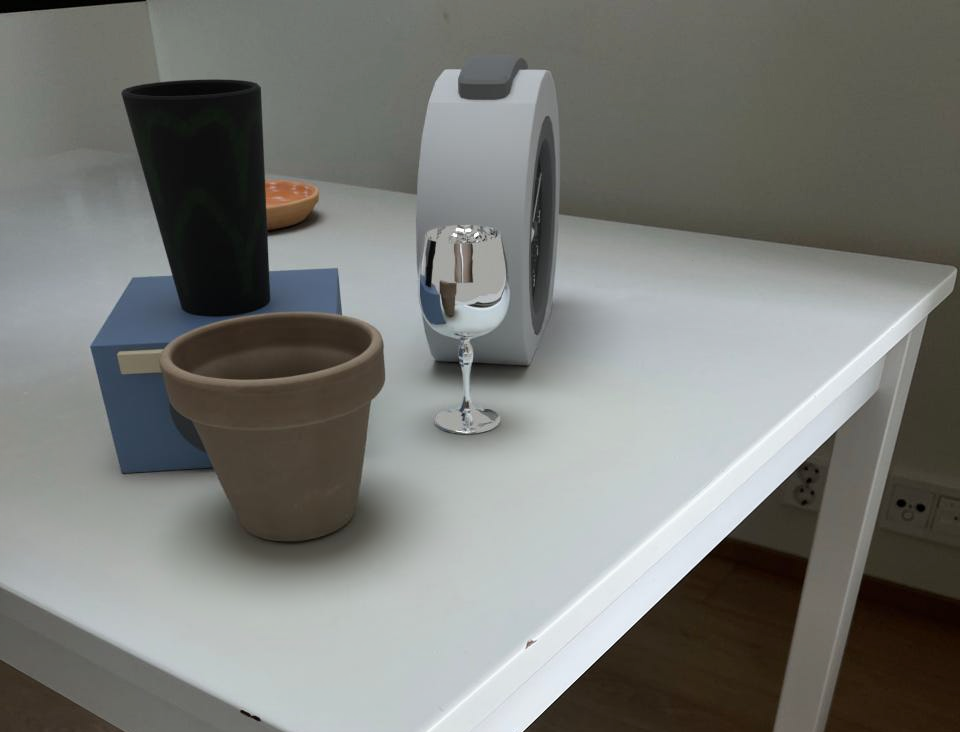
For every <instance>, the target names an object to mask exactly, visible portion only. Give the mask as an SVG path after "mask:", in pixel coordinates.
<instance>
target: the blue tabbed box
mask: <svg viewBox="0 0 960 732" xmlns="http://www.w3.org/2000/svg"><path fill="white" fill-rule="evenodd" d="M269 280H270V302H269V303H268V304H267V305H266V306H265V307H263V308H261V309H259V310H256V311H253V312H249V313H245V314H239V315H232V316H220V317H209V316H198V315H193V314H190V313H187V312H185V311H184V310H182V308H181V304H180V301H179V297H178V294H177V290H176V287H175V283H174V279H173V276H172V275H155V276H133V277H132V278H131V279H130V281H129V283H128V284H127V285H126V288H125V289H124V291H123V292H122V293H121V296H120V297H119V299H118V300H117V302H116V304H115V305H114V307H113V308H112V310H111V312H110V313H109V315H108V317H107V318H106V320H105V322H104V323H103V325H102V326H101V328H100V329H99V332H97V334H96V336H95V337H94V339H93V340H92V343H91V344H90V347H89V348H90V352H91V356H92V360H93V363H94V364H93V365H94V368H95V371H96V376H97V380H98V384H99V388H100V392H101V396H102V400H103V403H104V404H103V405H104V407H105V413H106V416H107V421H108V425H109V429H110V432H111V436H112V437H111V438H112V441H113V445H114V450H115V453H116V457H117V461H118V465H119V469H120V473H121V474H129V473H130V474H132V473H147V472H165V471H180V470H181V471H182V470H199V469H214V468H213V465H212V463H211V461H210V459H209V456H208V454H207V452H206V449H205V447H204V445H203V443H202V440H201V438H200V436H199V434H198V432H197V430H196V428H195V426H194V424H193V422H192V420H190V419H188V418H186V417H184V416H183V415H181V414H180V413H179V412H178V411H176V410H175V409H174V407H173V406H172V405H171V403H170V400H169V397H168V393H167V390H166V386H165V382H164V378H163V374H162V371H161V369H160V364H159V358H160V354H161V352H162V350H163V349H164V348H165V347H166V346H167V345H168V344H169V343H170V342H171V341H173V340H174V339H176V338H177V337H179V336H181V335H183V334H185V333H187V332H189V331H192V330H194V329H196V328H199V327H202V326H205V325H208V324H212V323H215V322H219V321H223V320H227V319H232V318H237V317H243V316H249V315H257V314H264V313H277V312H320V313H330V314H338V315H343V307H342V298H341V288H340V286H341V285H340V277H339V268H338V267H329V268H328V267H327V268H307V269H288V270H287V269H285V270H269Z"/></svg>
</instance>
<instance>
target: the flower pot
mask: <svg viewBox="0 0 960 732" xmlns="http://www.w3.org/2000/svg"><path fill="white" fill-rule="evenodd" d="M384 348H385V345H384V339H383V336H382V333H381V332H380V330H378V329H377V328H376V327H375V326H373V325H372V324H371V323H369V322H366V321H364V320H362V319H359V318H355V317H352V316H347V315H343V314H342V315H338V314H330V313H320V312H277V313H264V314H257V315H249V316H243V317H237V318H232V319H227V320H223V321H219V322H215V323H212V324H208V325H205V326H202V327H199V328H196V329H194V330H192V331H189V332H187V333H185V334H183V335H181V336H179V337H177V338H176V339H174V340H173V341H171V342H170V343H169V344H168V345H167V346H166V347H165V348H164V349H163V350H162V352H161V354H160V358H159V364H160V369H161V371H162V374H163V378H164V382H165V386H166V390H167V393H168V397H169V400H170V403H171V405H172V406H173V407H174V409H175V410H176V411H178V412H179V413H180V414H181V415H183V416H184V417H186V418H188V419H190V420H192V422H193V424H194V426H195V428H196V430H197V432H198V434H199V436H200V438H201V440H202V443H203V445H204V447H205V449H206V452H207V454H208V456H209V459H210V461H211V463H212V465H213V468H212V469H213V470H214V472H215V475H216V476H217V479H218V482H219V484H220V486H221V488H222V490H223V492H224V494H225V496H226V498H227V500H228V502H229V504H230V507H231V508H232V510H233V512H234V514H235V516H236V517H237V519H238V521H239V523H240V525H241V526H242V528H243V529H245V531H246V532H248V533H249V534H251V535H253V536H255V537H258V538H261V539H264V540H267V541H268V540H269V541H274V542H302V541H308V540H313V539H317V538H321V537H324V536H327V535H330V534H332V533H334V532H336V531H338V530H340V529H341V528H343V527H344V526H345V525H347V523H349V522H350V521H351V519H352V518H353V517H354V514H355V513H356V508H357V504H358V499H359V494H360V487H361V483H362V482H361V481H362V476H363V469H364V462H365V453H366V446H367V445H366V444H367V437H368V436H367V435H368V427H369V419H370V411H371V405H372V401H373V400H374V399H375V398H376V397H377V396H378V395H379V394H380V393H381V391H382V389H383V388H384V385H385V382H386V366H385V365H386V364H385V353H384Z"/></svg>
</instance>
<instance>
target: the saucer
mask: <svg viewBox="0 0 960 732" xmlns="http://www.w3.org/2000/svg"><path fill="white" fill-rule="evenodd" d="M265 191H266V213H267V231H272V230H279V229H282V228H288V227H291V226H294V225H297V224H299V223H301V222H303V221H305V219H307V217H308V216H309V215H310V213H311V211H313V210H314V209H315V207H316V205H317V204H318V203H319V201H320V190H319V189H318V188H317V187H316V186H314V185H312V184H310V183H306V182H301V181H293V180H282V179H281V180H280V179H279V180H277V179H265Z"/></svg>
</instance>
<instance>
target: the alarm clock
mask: <svg viewBox="0 0 960 732" xmlns="http://www.w3.org/2000/svg"><path fill="white" fill-rule="evenodd" d="M528 68H529V65H528V62H527V61H526V60H525V59H524V58H523V57H522V56H521V55H520V54H494V53H493V54H487V53H486V54H481V53H479V54H478V53H477V54H473V55H472V56H471V57H469V58H468V60H466V61H465V62H464V64H463V66H462V68H459V69H457V68H456V69H453V68H451V69H448V68H447V69H444V70H443V71H442V73H440V75H439V76H438V78H437V79H436V80H435V82H434V84H433V88H432V91H431V94H430V98H429V100H428V103H427V108H426V113H425V119H424V124H423V129H422V133H421V142H420V150H419V161H418V171H417V183H416V185H417V187H416V208H415V210H416V211H415V238H416V239H415V240H416V242H415V243H416V244H415V245H416V248H415V249H416V271H417V276H418V275H419V265H420V258H421V252H422V247H423V241H424V236H425V233H426V232H427V231H429V230H432V229H435V228H438V227H444V226H451V225H481V226H487V227H492V228H495V229H497V230H499V231H500V232H501V236H502V240H503V244H504V248H505V253H506V257H507V262H508V268H509V276H510V301H509V308H508V311H507V314H506V316H505V318H504V320H503V321H502V323H501V324H500V325H499V326H498V327H497V328H496V329H495V330H494V331H492V332H491V333H489V334H487V335H485V336H482V337H480V338H477V339H472V340H470V344H471V346H472V348H473V354H474V355H473V362H472V364H490V365H509V366H530V365H531V364H532V361H533V359H534V356H535V353H536V351H537V349H538V346H539V343H540V342H541V338H542V336H543V333H544V331H545V328H546V326H547V323H548V321H549V319H550V316H551V314H552V313H551V312H552V306H553V298H554V291H555V290H554V287H555V280H556V279H555V277H556V267H557V254H558V241H559V223H560V222H559V220H560V197H561V196H560V194H561V193H560V191H561V190H560V187H561V180H560V179H561V149H560V148H561V144H560V143H561V142H560V141H561V139H560V134H561V133H560V120H559V119H560V118H559V106H558V98H557V89H556V84H555V81H554V78H553V75H552V72H551V70H546V69H528ZM421 317H422V322H423V329H424V334H425V338H426V341H427V345H428V347H429V352H430V354H431V356H432V358H433V359H434V361H436V362H449V363H450V362H451V363H460V362H459V356H458V353H459V346H460V345H461V340H456V339H452V338H449V337H446V336H444V335H442V334H440V333H438V332H437V331H435V330H434V329H432V328H431V326H430V325H429V324H428V323H427V322H426V320H425V318H424V316H423V314H422V313H421Z"/></svg>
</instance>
